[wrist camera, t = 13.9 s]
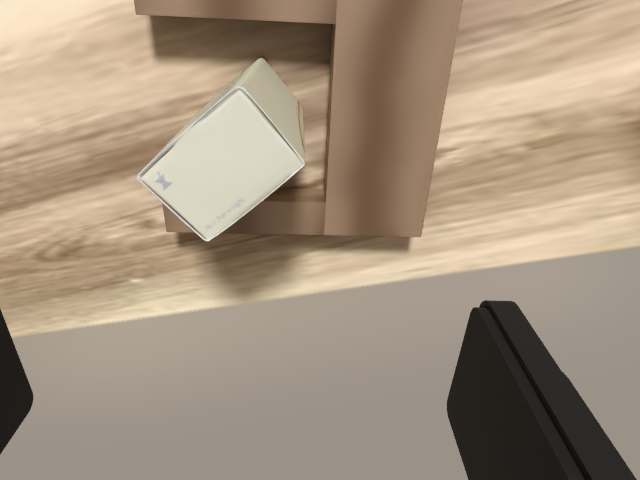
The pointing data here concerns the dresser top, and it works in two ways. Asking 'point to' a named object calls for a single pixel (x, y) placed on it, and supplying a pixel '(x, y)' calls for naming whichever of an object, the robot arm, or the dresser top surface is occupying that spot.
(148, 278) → the dresser top surface
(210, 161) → the skincare box
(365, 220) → the notched board
